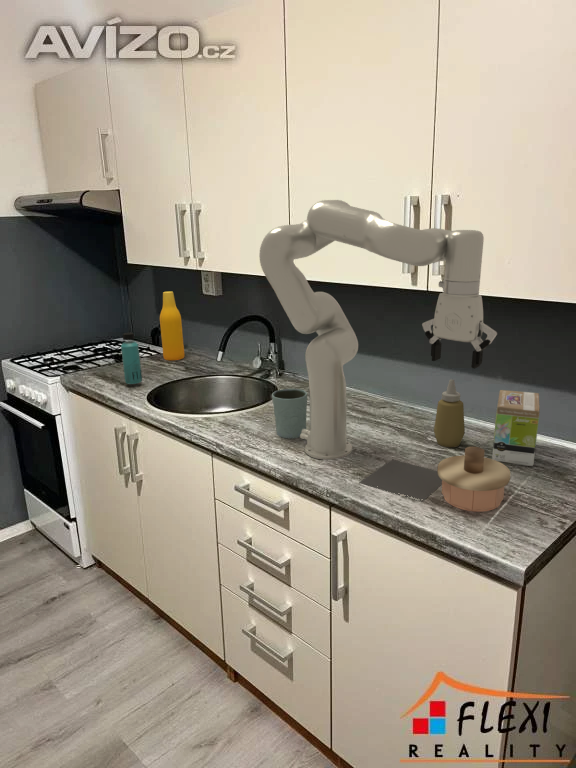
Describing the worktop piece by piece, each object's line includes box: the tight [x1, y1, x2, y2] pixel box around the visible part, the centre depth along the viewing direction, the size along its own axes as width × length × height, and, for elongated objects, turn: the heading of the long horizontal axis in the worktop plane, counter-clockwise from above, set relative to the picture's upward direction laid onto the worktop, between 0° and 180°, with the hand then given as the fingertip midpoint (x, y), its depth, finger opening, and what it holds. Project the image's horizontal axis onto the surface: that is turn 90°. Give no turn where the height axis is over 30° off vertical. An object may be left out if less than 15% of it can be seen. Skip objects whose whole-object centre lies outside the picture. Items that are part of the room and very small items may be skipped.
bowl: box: [441, 480, 506, 513], centre depth 128 cm, size 12×12×6 cm
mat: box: [359, 458, 442, 502], centre depth 138 cm, size 16×16×1 cm
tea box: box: [491, 389, 541, 467], centre depth 149 cm, size 15×10×15 cm, turn 158°
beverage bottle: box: [120, 332, 143, 385], centre depth 217 cm, size 6×7×20 cm
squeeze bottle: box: [433, 379, 466, 449], centre depth 155 cm, size 8×8×18 cm
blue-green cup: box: [271, 388, 308, 439], centre depth 168 cm, size 10×10×12 cm
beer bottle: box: [159, 291, 185, 362], centre depth 254 cm, size 9×9×29 cm
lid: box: [436, 446, 511, 491], centre depth 126 cm, size 15×15×6 cm
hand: (455, 363), depth 134 cm, fingers open, 9 cm apart
